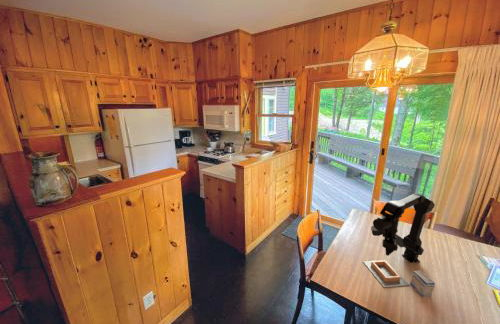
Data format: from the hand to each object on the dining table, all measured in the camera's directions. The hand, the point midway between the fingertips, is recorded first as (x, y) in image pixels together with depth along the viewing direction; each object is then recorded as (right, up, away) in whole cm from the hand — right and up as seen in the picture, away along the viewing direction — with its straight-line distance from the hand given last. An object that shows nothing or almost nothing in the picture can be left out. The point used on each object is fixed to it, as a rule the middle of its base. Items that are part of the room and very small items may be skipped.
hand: (386, 250), depth 112 cm
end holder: (0, -14, +2) cm, 14 cm away
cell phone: (+26, -5, +32) cm, 42 cm away
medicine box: (+11, -17, -9) cm, 22 cm away
